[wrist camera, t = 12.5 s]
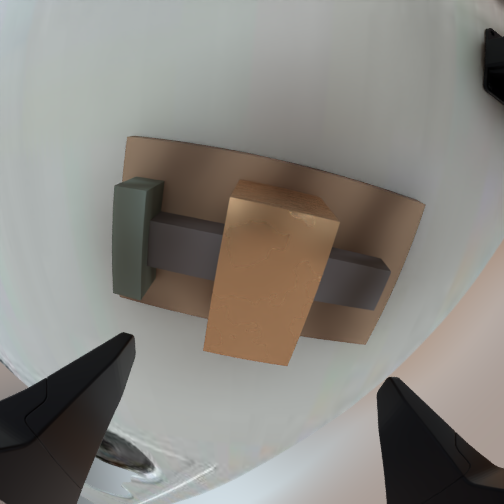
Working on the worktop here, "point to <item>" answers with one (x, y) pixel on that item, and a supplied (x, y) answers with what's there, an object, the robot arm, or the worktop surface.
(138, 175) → the rail board
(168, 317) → the worktop surface
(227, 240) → the block
